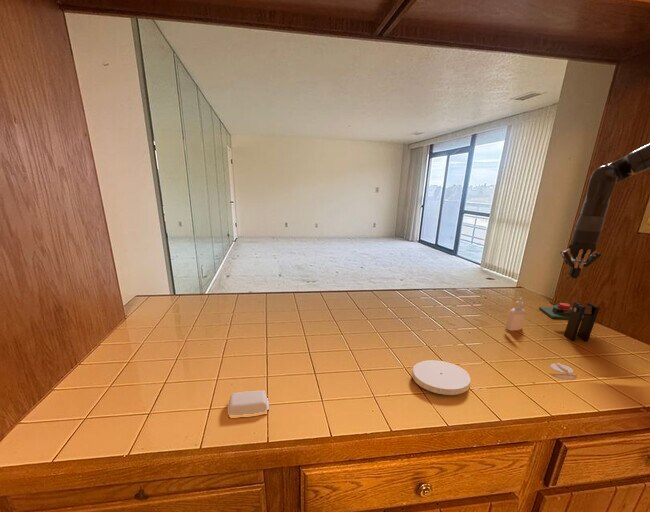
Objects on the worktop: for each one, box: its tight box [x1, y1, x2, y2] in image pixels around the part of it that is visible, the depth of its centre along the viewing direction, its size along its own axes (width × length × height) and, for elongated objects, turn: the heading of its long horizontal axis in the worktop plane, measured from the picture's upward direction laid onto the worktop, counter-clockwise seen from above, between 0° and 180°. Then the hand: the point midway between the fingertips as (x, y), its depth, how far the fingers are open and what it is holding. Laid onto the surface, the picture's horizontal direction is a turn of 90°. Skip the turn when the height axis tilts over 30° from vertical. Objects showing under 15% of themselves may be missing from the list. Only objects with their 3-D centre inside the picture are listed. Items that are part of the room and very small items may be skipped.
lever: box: [555, 305, 592, 315], centre depth 113 cm, size 13×5×2 cm, turn 175°
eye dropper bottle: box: [504, 297, 527, 334], centre depth 116 cm, size 4×6×12 cm
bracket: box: [563, 301, 600, 343], centre depth 109 cm, size 10×8×13 cm
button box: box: [538, 304, 583, 321], centre depth 131 cm, size 12×10×4 cm
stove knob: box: [549, 362, 578, 381], centre depth 93 cm, size 7×7×2 cm
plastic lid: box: [411, 359, 472, 396], centre depth 88 cm, size 14×14×2 cm
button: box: [558, 302, 571, 309], centre depth 130 cm, size 4×4×2 cm
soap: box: [227, 389, 270, 416], centre depth 76 cm, size 9×7×3 cm
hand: (572, 277), depth 125 cm, fingers closed
